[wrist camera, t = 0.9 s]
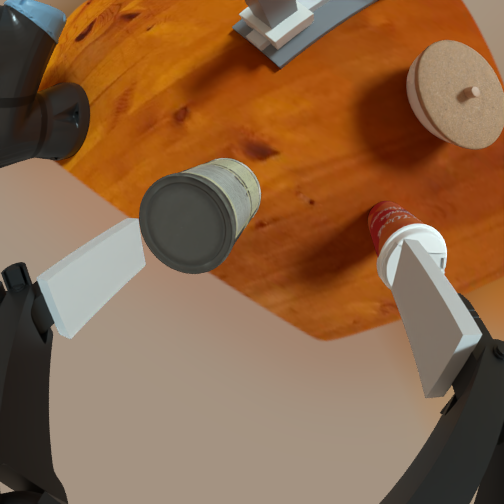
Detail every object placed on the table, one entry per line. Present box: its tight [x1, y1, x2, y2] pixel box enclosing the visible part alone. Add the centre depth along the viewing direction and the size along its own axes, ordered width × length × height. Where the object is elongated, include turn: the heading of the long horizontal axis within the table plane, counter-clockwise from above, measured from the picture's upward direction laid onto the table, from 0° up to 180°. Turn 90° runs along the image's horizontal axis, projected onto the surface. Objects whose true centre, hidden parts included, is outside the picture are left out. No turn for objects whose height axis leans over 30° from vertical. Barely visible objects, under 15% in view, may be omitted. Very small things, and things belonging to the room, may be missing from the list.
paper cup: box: [368, 201, 447, 289], centre depth 29 cm, size 8×8×14 cm
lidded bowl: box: [406, 40, 504, 149], centre depth 21 cm, size 13×13×11 cm
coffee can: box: [139, 158, 261, 274], centre depth 32 cm, size 10×10×14 cm
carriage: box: [239, 0, 314, 50], centre depth 19 cm, size 6×6×14 cm
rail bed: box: [232, 0, 378, 69], centre depth 23 cm, size 9×19×3 cm, turn 134°
